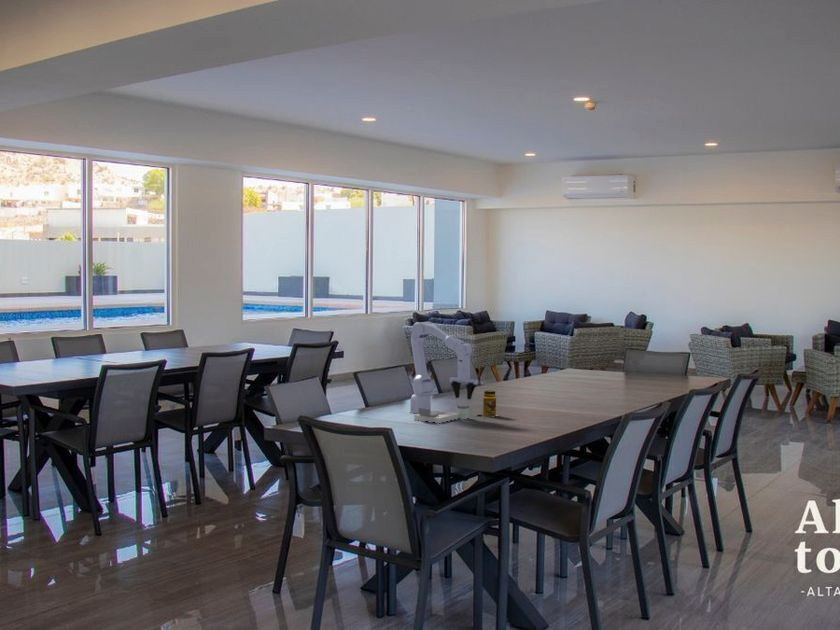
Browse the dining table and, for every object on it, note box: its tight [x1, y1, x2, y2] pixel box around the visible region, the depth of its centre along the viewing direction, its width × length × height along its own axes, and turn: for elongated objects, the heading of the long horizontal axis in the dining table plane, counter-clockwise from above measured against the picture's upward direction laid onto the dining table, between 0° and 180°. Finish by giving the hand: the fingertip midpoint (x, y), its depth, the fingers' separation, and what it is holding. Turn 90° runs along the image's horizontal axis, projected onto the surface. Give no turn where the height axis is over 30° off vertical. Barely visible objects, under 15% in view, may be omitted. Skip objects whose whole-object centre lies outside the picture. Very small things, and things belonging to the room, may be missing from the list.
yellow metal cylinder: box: [482, 390, 499, 418], centre depth 401 cm, size 7×8×12 cm
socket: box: [413, 410, 459, 424], centre depth 389 cm, size 14×16×2 cm
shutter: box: [419, 408, 439, 417], centre depth 384 cm, size 6×7×4 cm
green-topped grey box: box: [456, 404, 470, 420], centre depth 393 cm, size 4×4×6 cm
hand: (463, 398), depth 392 cm, fingers open, 6 cm apart
